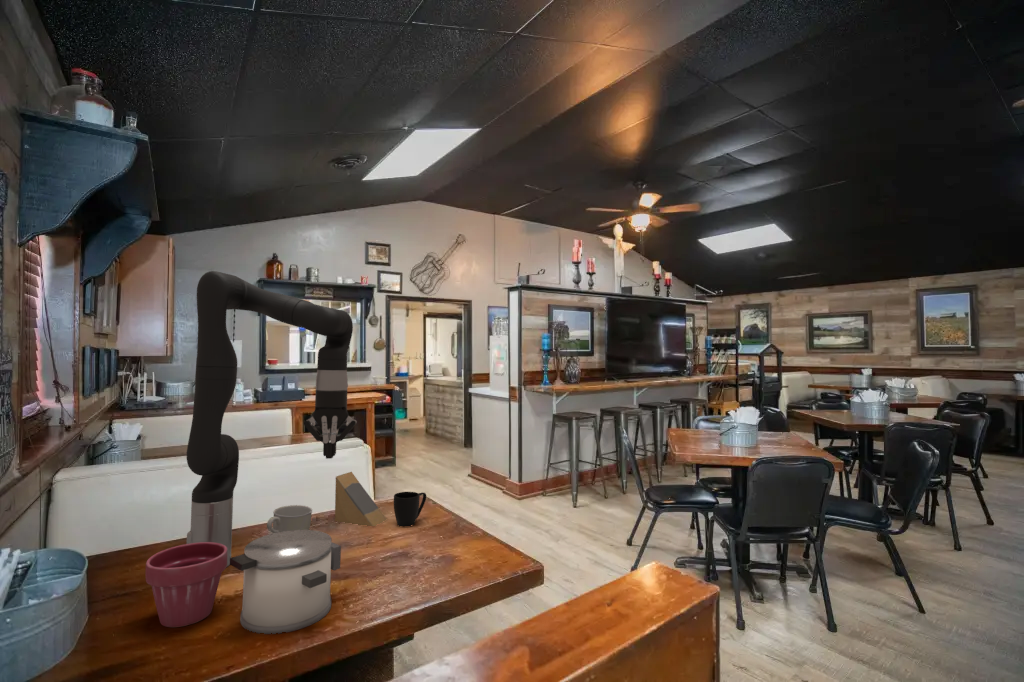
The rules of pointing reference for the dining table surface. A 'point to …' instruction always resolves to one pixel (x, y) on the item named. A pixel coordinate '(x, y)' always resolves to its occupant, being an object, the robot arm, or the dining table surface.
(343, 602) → the dining table surface
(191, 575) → the plant pot
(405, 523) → the mug
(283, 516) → the teacup
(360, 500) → the sandwich container
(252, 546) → the lid
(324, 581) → the oval food canister
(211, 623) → the dining table surface
